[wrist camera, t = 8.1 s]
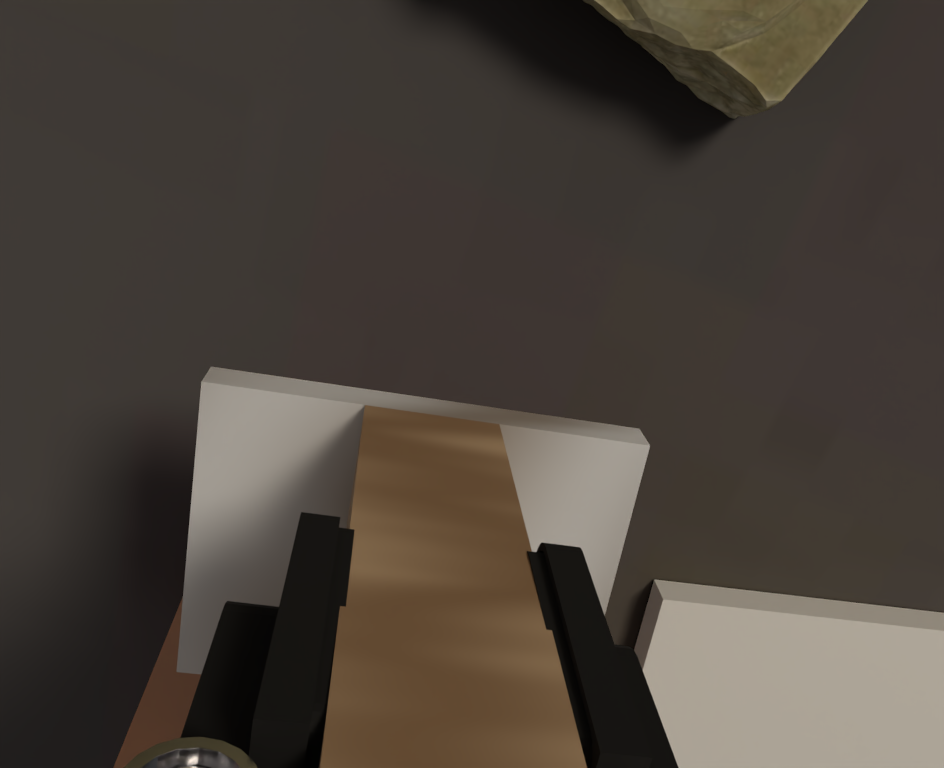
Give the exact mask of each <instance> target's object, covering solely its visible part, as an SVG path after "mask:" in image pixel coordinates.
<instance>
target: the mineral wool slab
mask: <svg viewBox="0 0 944 768" xmlns="http://www.w3.org/2000/svg"><path fill="white" fill-rule="evenodd" d="M583 1H584V2H586V3H588V4H590V5H592V6H593V7H594V8H595V9H596V10H597V11H598V12H599V13H600V14H601V15H602V16H604V17H605V18H606V19H608V20H609V21H611V22H612V23H614V24H615V25H617V26H618V27H619V28H620V29H621V30H622V31H623V32H624V34H625V35H626V36H628V37H629V38H631V39H632V40H634V41H635V42H637V43H638V44H640V45H641V46H642V47H643V48H644V49H645V50H647V51H648V52H649V53H650V54H651V55H652V56H654V57H655V58H656V59H657V60H658V61H659V62H660V63H662V64H663V65H665V67H666V68H667V69H668V70H669V72H670V73H671V74H672V75H673V76H674V78H675V79H676V80H677V81H679V82H681V83H683V84H685V85H687V86H688V87H689V88H690V89H691V91H692V92H693V93H694V94H695V95H696V96H697V97H698V98H699V99H701V100H702V101H704V102H706V103H708V104H709V105H711V106H713V107H715V108H716V109H718V110H720V111H721V112H723V113H724V114H726V115H727V116H728V117H730V118H733V119H735V118H737V117H738V116H749V115H753V114H756V113H760V112H763V111H766V110H769V109H770V108H772V107H773V106H775V105H776V104H778V103H779V102H781V101H782V100H783V99H784V98H785V96H786V95H787V94H788V93H789V92H790V90H791V89H792V88H793V87H794V86H795V85H796V84H797V83H798V82H799V81H800V80H801V78H802V77H803V76H804V75H805V74H806V73H807V72H808V71H809V70H810V69H811V68H812V67H813V65H814V64H815V63H816V62H817V61H818V60H819V59H820V57H821V56H822V55H823V54H824V52H825V51H826V50H827V49H828V47H829V46H830V45H831V44H832V42H833V41H834V40H835V39H836V37H837V36H838V35H839V34H840V33H841V32H842V31H843V30H844V28H845V27H846V26H847V25H848V24H849V22H850V21H851V20H852V19H853V18H854V16H855V15H856V14H857V13H858V12H859V10H860V9H861V8H862V7H863V6H864V4H865V3H866V2H867V1H868V0H583Z"/></svg>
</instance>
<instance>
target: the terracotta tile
mask: <svg viewBox="0 0 944 768" xmlns="http://www.w3.org/2000/svg"><path fill="white" fill-rule="evenodd" d="M182 602H183V597H182V600H181V602H180V605H179V607H178V610H177V612H176V614H175V617H174V619H173V622H172V624H171V627H170V629H169V632H168V634H167V637H166V639H165V642H164V644H163V646H162V649H161V651H160V654H159V656H158V659H157V661H156V664H155V666H154V669H153V671H152V674H151V676H150V678H149V681H148V683H147V686H146V688H145V691H144V693H143V696H142V698H141V701H140V703H139V706H138V708H137V710H136V713H135V715H134V718H133V720H132V723H131V725H130V728H129V730H128V733H127V735H126V738H125V740H124V742H123V745H122V747H121V750H120V752H119V755H118V757H117V760H116V762H115V765H114V767H113V768H123V767H125V766H126V765H127V764H128V763H129V762H130V761H131V760H132V759H133V758H134V757H135V756H136V755H137V754H139V753H141V752H143V751H145V750H147V749H149V748H150V747H152V746H154V745H156V744H159V743H162V742H166V741H170V740H173V739H177V738H180V737H181V734H182V731H183V728H184V725H185V722H186V719H187V716H188V713H189V710H190V707H191V704H192V701H193V698H194V695H195V692H196V689H197V686H198V683H199V680H200V677H201V674H191V673H181V672H177V660H178V648H179V637H180V625H181V614H182Z"/></svg>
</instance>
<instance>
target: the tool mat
mask: <svg viewBox="0 0 944 768" xmlns="http://www.w3.org/2000/svg"><path fill="white" fill-rule="evenodd" d="M634 651H635V653H636V655H637V657H638V659H639V662H640V665H641V667H642V670H643V673H644V676H645V678H646V681H647V684H648V686H649V689H650V692H651V695H652V697H653V700H654V703H655V705H656V708H657V711H658V714H659V716H660V719H661V722H662V724H663V727H664V730H665V733H666V735H667V738H668V741H669V743H670V746H671V749H672V751H673V754H674V757H675V760H676V762H677V765H678V768H944V613H941V612H932V611H923V610H915V609H906V608H897V607H889V606H880V605H871V604H862V603H854V602H845V601H836V600H828V599H819V598H810V597H802V596H793V595H784V594H776V593H767V592H758V591H750V590H741V589H732V588H724V587H715V586H706V585H698V584H689V583H680V582H671V581H663V580H654V582H653V585H652V589H651V592H650V596H649V599H648V603H647V606H646V610H645V613H644V617H643V620H642V624H641V627H640V631H639V634H638V638H637V641H636V645H635V648H634Z"/></svg>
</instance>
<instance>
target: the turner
mask: <svg viewBox="0 0 944 768" xmlns="http://www.w3.org/2000/svg"><path fill="white" fill-rule="evenodd" d="M649 448H650V445H649V443H648V442H647V440H646V439H645V437H644V435H643V434H642V432H641V431H640V429H638V428H631V427H624V426H617V425H610V424H603V423H596V422H589V421H582V420H575V419H569V418H562V417H555V416H548V415H541V414H534V413H527V412H520V411H513V410H507V409H500V408H493V407H486V406H479V405H472V404H465V403H458V402H451V401H444V400H438V399H431V398H424V397H417V396H410V395H403V394H396V393H389V392H382V391H375V390H369V389H362V388H355V387H348V386H341V385H334V384H327V383H320V382H313V381H306V380H300V379H293V378H286V377H279V376H272V375H265V374H258V373H251V372H244V371H238V370H231V369H224V368H217V367H211V368H210V369H209V371H208V372H207V374H206V376H205V377H204V379H203V380H202V382H201V393H200V405H199V417H198V428H197V440H196V451H195V463H194V475H193V486H192V498H191V509H190V521H189V533H188V544H187V556H186V567H185V579H184V590H183V602H182V614H181V625H180V637H179V648H178V660H177V672H181V673H191V674H202V671H203V668H204V665H205V662H206V658H207V655H208V652H209V649H210V646H211V643H212V640H213V637H214V634H215V631H216V628H217V625H218V622H219V619H220V616H221V613H222V610H223V608H224V605H225V603H226V602H227V601H233V602H242V603H250V604H259V605H268V606H277V607H279V605H280V601H281V596H282V592H283V588H284V583H285V579H286V575H287V570H288V566H289V562H290V557H291V553H292V549H293V544H294V540H295V536H296V531H297V527H298V523H299V518H300V514H301V512H305V513H313V514H321V515H329V516H337V517H340V524H339V527H340V528H348V529H354V530H355V531H354V540H353V549H352V557H351V566H350V575H349V584H348V593H347V602H346V607H344V606H340V610H339V618H338V626H337V634H336V642H335V650H334V658H333V666H332V674H331V682H330V690H329V698H328V706H327V714H326V721H325V728H324V735H323V742H322V749H321V755H320V762H319V768H587V766H586V762H585V758H584V754H583V750H582V746H581V742H580V738H579V734H578V730H577V727H576V723H575V719H574V715H573V711H572V707H571V703H570V699H569V695H568V691H567V687H566V683H565V679H564V676H563V672H562V668H561V664H560V660H559V656H558V652H557V648H556V644H555V640H554V636H553V632H552V630H546V626H545V622H544V618H543V614H542V610H541V606H540V602H539V598H538V594H537V590H536V586H535V581H534V577H533V573H532V569H531V565H530V561H529V557H528V553H527V551H530V552H537V549H538V547H539V545H540V544H541V543H542V542H543V543H550V544H558V545H566V546H574V547H580V548H581V549H582V551H583V554H584V557H585V560H586V562H587V565H588V568H589V571H590V574H591V577H592V580H593V583H594V586H595V589H596V592H597V595H598V598H599V601H600V604H601V607H602V610H603V613H604V616H605V613H606V609H607V605H608V601H609V598H610V594H611V590H612V586H613V583H614V579H615V575H616V571H617V568H618V564H619V560H620V556H621V553H622V549H623V545H624V541H625V538H626V534H627V530H628V526H629V523H630V519H631V515H632V511H633V508H634V504H635V500H636V496H637V493H638V489H639V485H640V481H641V478H642V474H643V470H644V466H645V463H646V459H647V455H648V451H649Z"/></svg>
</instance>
